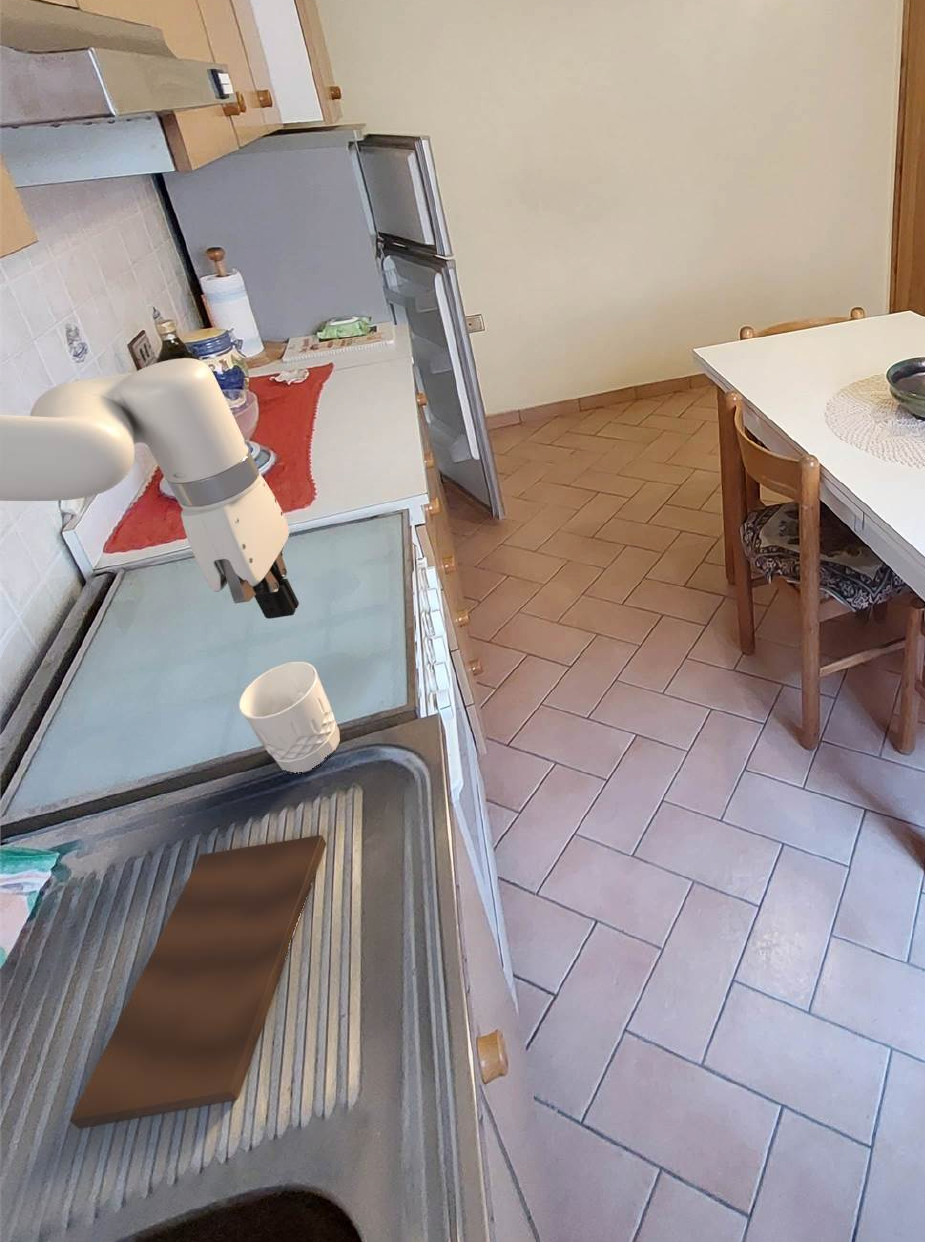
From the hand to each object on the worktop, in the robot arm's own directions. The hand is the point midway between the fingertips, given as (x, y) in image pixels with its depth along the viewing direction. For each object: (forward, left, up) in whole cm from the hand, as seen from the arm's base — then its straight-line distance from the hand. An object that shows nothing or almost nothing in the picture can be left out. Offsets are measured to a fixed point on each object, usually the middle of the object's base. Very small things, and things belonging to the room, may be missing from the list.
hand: (283, 611), depth 86 cm
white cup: (0, -6, -16) cm, 17 cm away
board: (0, -29, -16) cm, 33 cm away
